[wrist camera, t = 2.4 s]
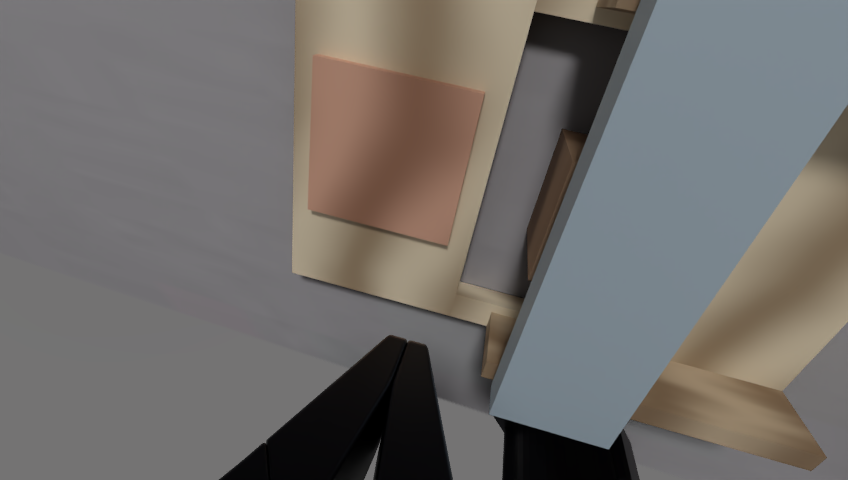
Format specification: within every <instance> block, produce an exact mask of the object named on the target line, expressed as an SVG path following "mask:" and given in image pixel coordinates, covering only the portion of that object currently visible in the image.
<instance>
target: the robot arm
mask: <svg viewBox="0 0 848 480" xmlns="http://www.w3.org/2000/svg"><path fill="white" fill-rule="evenodd" d="M494 418H495V419H496V421H497V422H498V424H499V425H500V427H501V428H502V430H503V432H504V454H503V478H502V480H640V479H639V476H638V472H637V468H636V463H635V459H634V455H633V451H632V447H631V443H630V441H629V439H628V437H627V435H626V433H625V431H624V429H623V430H622V431H621V433H620V434H619V435H618V437H617V438H616V440H615V441H614V443H613V444H612V445H611V447H610V448H609V450H608V449H605V448H602V447H598V446H595V445H591V444H588V443H585V442H581V441H578V440H574V439H571V438H568V437H564V436H561V435H557V434H554V433H551V432H547V431H544V430H540V429H537V428H534V427H530V426H527V425H523V424H520V423H517V422H513V421H510V420H506V419H503V418H499V417H496V416H494ZM380 440H381V441H380ZM379 443H380V447H379V451H378V456H377V462H376V467H375V473H374V479H373V480H453V478H452V473H451V468H450V462H449V457H448V452H447V446H446V441H445V436H444V431H443V426H442V420H441V415H440V410H439V405H438V399H437V394H436V389H435V383H434V378H433V373H432V368H431V362H430V357H429V352H428V348H427V346H426V345H425V344H421V343H418V342H414V341H409V342H408V343H407V340H406V339H404V338H400V337H397V336H393V335H389V336H387V337H386V338H385V339H384V340H382V341H381V342H380V343H379V344H378V345H377V346H375V347H374V348H373V349H372V350H371V351H370V352H368V353H367V354H366V355H365V356H364V357H363V358H361V359H360V360H359V361H358V362H357V363H356V364H354V365H353V366H352V367H351V368H350V369H349V370H348V371H346V372H345V373H344V374H343V375H342V376H341V377H340V378H338V379H337V380H336V381H335V382H334V383H333V384H331V385H330V386H329V387H328V388H327V389H325V390H324V391H323V392H322V393H321V394H320V395H318V396H317V397H316V398H315V399H314V400H313V401H312V402H310V403H309V404H308V405H307V406H306V407H305V408H303V409H302V410H301V411H300V412H299V413H298V414H296V415H295V416H294V417H293V418H292V419H291V420H289V421H288V422H287V423H286V424H285V425H284V426H283V427H281V428H280V429H279V430H278V431H277V432H275V433H274V434H273V435H272V436H271V437H270V438H268V439H267V441H266V443H263V444H261V445H260V446H259V447H258V448H257V449H255V450H254V451H253V452H252V453H251V454H250V455H248V456H247V457H246V458H245V459H244V460H242V461H241V462H240V463H239V464H238V465H236V466H235V467H234V468H233V469H232V470H230V471H229V472H228V473H227V474H225V475H224V476H223V477H222V478H221V479H219V480H364V478H365V476H366V474H367V471H368V469H369V466H370V464H371V462H372V460H373V458H374V455H375V453H376V450H377V448H378V445H379Z"/></svg>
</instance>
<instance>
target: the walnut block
mask: <svg viewBox="0 0 848 480" xmlns="http://www.w3.org/2000/svg"><path fill="white" fill-rule="evenodd" d="M587 137H588V135H587V134H583V133H578V132H574V131H569V130H565V129H562V131H561V134H560V136H559V139H558V142H557V145H556V148H555V151H554V154H553V156H552V159H551V162H550V165H549V168H548V171H547V174H546V176H545V179H544V182H543V185H542V188H541V191H540V194H539V196H538V199H537V202H536V205H535V208H534V211H533V214H532V216H531V219H530V222H529V225H528V228H527V254H528V280H529V281H532V279H533V276H534V273H535V271H536V268H537V266H538V263H539V261H540V258H541V255H542V253H543V250H544V248H545V245H546V243H547V240H548V237H549V235H550V232H551V230H552V227H553V225H554V222H555V219H556V217H557V214H558V212H559V209H560V207H561V204H562V201H563V199H564V196H565V194H566V191H567V189H568V186H569V183H570V181H571V178H572V176H573V173H574V171H575V168H576V165H577V163H578V160H579V158H580V155H581V153H582V150H583V147H584V145H585V142H586V140H587Z"/></svg>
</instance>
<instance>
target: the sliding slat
mask: <svg viewBox="0 0 848 480" xmlns="http://www.w3.org/2000/svg"><path fill="white" fill-rule="evenodd" d="M847 105H848V0H641V1H640V3H639V6H638V8H637V11H636V14H635V16H634V19H633V21H632V24H631V26H630V29H629V32H628V34H627V37H626V39H625V42H624V44H623V47H622V50H621V52H620V55H619V57H618V60H617V62H616V65H615V68H614V70H613V73H612V75H611V78H610V80H609V83H608V86H607V88H606V91H605V93H604V96H603V98H602V101H601V104H600V106H599V109H598V111H597V114H596V116H595V119H594V122H593V124H592V127H591V129H590V132H589V135H588V137H587V140H586V142H585V145H584V147H583V150H582V153H581V155H580V158H579V160H578V163H577V165H576V168H575V171H574V173H573V176H572V178H571V181H570V183H569V186H568V189H567V191H566V194H565V196H564V199H563V201H562V204H561V207H560V209H559V212H558V214H557V217H556V219H555V222H554V225H553V227H552V230H551V232H550V235H549V237H548V240H547V243H546V245H545V248H544V250H543V253H542V255H541V258H540V261H539V263H538V266H537V268H536V271H535V273H534V276H533V279H532V281H531V284H530V286H529V289H528V292H527V294H526V297H525V299H524V302H523V304H522V307H521V310H520V312H519V315H518V317H517V320H516V322H515V325H514V328H513V330H512V333H511V335H510V338H509V340H508V343H507V346H506V348H505V351H504V353H503V356H502V358H501V361H500V364H499V366H498V369H497V371H496V374H495V376H494V379H493V382H492V384H491V395H490V407H489V415H493V416H496V417H499V418H503V419H506V420H510V421H513V422H517V423H520V424H523V425H527V426H530V427H534V428H537V429H540V430H544V431H547V432H551V433H554V434H557V435H561V436H564V437H568V438H571V439H574V440H578V441H581V442H585V443H588V444H591V445H595V446H598V447H602V448H605V449H608V450H609V448H610V447H611V445H612V444H613V443H614V441H615V440H616V438H617V437H618V435H619V434H620V433H621V431H622V430H623V428H624V427H625V425H626V424H627V422H628V421H629V420H630V418H631V417H632V415H633V414H634V412H635V411H636V409H637V408H638V407H639V405H640V404H641V402H642V401H643V399H644V398H645V396H646V395H647V394H648V392H649V391H650V389H651V388H652V386H653V385H654V383H655V382H656V381H657V379H658V378H659V376H660V375H661V373H662V372H663V370H664V369H665V368H666V366H667V365H668V363H669V362H670V360H671V359H672V357H673V356H674V355H675V353H676V352H677V350H678V349H679V347H680V346H681V344H682V343H683V342H684V340H685V339H686V337H687V336H688V334H689V333H690V331H691V330H692V329H693V327H694V326H695V324H696V323H697V321H698V320H699V319H700V317H701V316H702V314H703V313H704V311H705V310H706V308H707V307H708V306H709V304H710V303H711V301H712V300H713V298H714V297H715V295H716V294H717V293H718V291H719V290H720V288H721V287H722V285H723V284H724V282H725V281H726V280H727V278H728V277H729V275H730V274H731V272H732V271H733V269H734V268H735V267H736V265H737V264H738V262H739V261H740V259H741V258H742V256H743V255H744V254H745V252H746V251H747V249H748V248H749V246H750V245H751V243H752V242H753V241H754V239H755V238H756V236H757V235H758V233H759V232H760V230H761V229H762V228H763V226H764V225H765V223H766V222H767V220H768V219H769V217H770V216H771V215H772V213H773V212H774V210H775V209H776V207H777V206H778V205H779V203H780V202H781V200H782V199H783V197H784V196H785V194H786V193H787V192H788V190H789V189H790V187H791V186H792V184H793V183H794V181H795V180H796V179H797V177H798V176H799V174H800V173H801V171H802V170H803V168H804V167H805V166H806V164H807V163H808V161H809V160H810V158H811V157H812V155H813V154H814V153H815V151H816V150H817V148H818V147H819V145H820V144H821V142H822V141H823V140H824V138H825V137H826V135H827V134H828V132H829V131H830V129H831V128H832V127H833V125H834V124H835V122H836V121H837V119H838V118H839V116H840V115H841V114H842V112H843V111H844V109H845V108H846V106H847Z"/></svg>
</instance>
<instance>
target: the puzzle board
mask: <svg viewBox="0 0 848 480" xmlns="http://www.w3.org/2000/svg"><path fill="white" fill-rule="evenodd" d="M640 1H641V0H296V8H295V88H294V168H293V248H292V273H295V274H299V275H303V276H306V277H310V278H314V279H317V280H321V281H324V282H328V283H332V284H335V285H339V286H343V287H346V288H350V289H354V290H357V291H361V292H364V293H368V294H372V295H375V296H379V297H383V298H386V299H390V300H393V301H397V302H401V303H404V304H408V305H412V306H415V307H419V308H422V309H426V310H430V311H433V312H437V313H441V314H444V315H448V316H452V317H455V318H459V319H462V320H466V321H470V322H473V323H477V324H481V325H484V326H487V327H486V336H485V345H484V355H483V364H482V373H481V377H485V378H488V379H492V380H493V379H494V376H495V374H496V371H497V369H498V366H499V364H500V361H501V358H502V356H503V353H504V351H505V348H506V346H507V343H508V340H509V338H510V335H511V333H512V330H513V328H514V325H515V322H516V320H517V317H518V315H519V312H520V310H521V307H522V304H523V302H524V298H520V297H516V296H512V295H509V294H505V293H501V292H497V291H494V290H490V289H486V288H482V287H479V286H475V285H471V284H468V283H464V282H460V278H461V275H462V271H463V267H464V264H465V260H466V256H467V253H468V249H469V246H470V242H471V238H472V235H473V231H474V227H475V224H476V220H477V217H478V213H479V209H480V206H481V202H482V198H483V195H484V191H485V188H486V184H487V180H488V177H489V173H490V169H491V166H492V162H493V159H494V155H495V151H496V148H497V144H498V140H499V137H500V133H501V130H502V126H503V122H504V119H505V115H506V111H507V108H508V104H509V101H510V97H511V93H512V90H513V86H514V82H515V79H516V75H517V72H518V68H519V64H520V61H521V57H522V53H523V50H524V46H525V43H526V39H527V35H528V32H529V28H530V24H531V21H532V17H533V13H534V11H535V12H539V13H544V14H549V15H554V16H559V17H563V18H568V19H573V20H578V21H583V22H588V23H592V24H597V25H602V26H607V27H612V28H617V29H621V30H626V31H629V29H630V26H631V24H632V21H633V19H634V16H635V14H636V11H637V8H638V6H639V3H640ZM847 322H848V105H847V106H846V108H845V109H844V111H843V112H842V114H841V115H840V116H839V118H838V119H837V121H836V122H835V124H834V125H833V127H832V128H831V129H830V131H829V132H828V134H827V135H826V137H825V138H824V140H823V141H822V142H821V144H820V145H819V147H818V148H817V150H816V151H815V153H814V154H813V155H812V157H811V158H810V160H809V161H808V163H807V164H806V166H805V167H804V168H803V170H802V171H801V173H800V174H799V176H798V177H797V179H796V180H795V181H794V183H793V184H792V186H791V187H790V189H789V190H788V192H787V193H786V194H785V196H784V197H783V199H782V200H781V202H780V203H779V205H778V206H777V207H776V209H775V210H774V212H773V213H772V215H771V216H770V217H769V219H768V220H767V222H766V223H765V225H764V226H763V228H762V229H761V230H760V232H759V233H758V235H757V236H756V238H755V239H754V241H753V242H752V243H751V245H750V246H749V248H748V249H747V251H746V252H745V254H744V255H743V256H742V258H741V259H740V261H739V262H738V264H737V265H736V267H735V268H734V269H733V271H732V272H731V274H730V275H729V277H728V278H727V280H726V281H725V282H724V284H723V285H722V287H721V288H720V290H719V291H718V293H717V294H716V295H715V297H714V298H713V300H712V301H711V303H710V304H709V306H708V307H707V308H706V310H705V311H704V313H703V314H702V316H701V317H700V319H699V320H698V321H697V323H696V324H695V326H694V327H693V329H692V330H691V331H690V333H689V334H688V336H687V337H686V339H685V340H684V342H683V343H682V344H681V346H680V347H679V349H678V350H677V352H676V353H675V355H674V356H673V357H672V359H671V360H670V362H669V363H668V365H667V366H666V368H665V369H664V370H663V372H662V373H661V375H660V376H659V378H658V379H657V381H656V382H655V383H654V385H653V386H652V388H651V389H650V391H649V392H648V394H647V395H646V396H645V398H644V399H643V401H642V402H641V404H640V405H639V407H638V408H637V409H636V411H635V412H634V414H633V415H632V417H631V418H630V419H631V420H635V421H638V422H642V423H645V424H649V425H652V426H656V427H659V428H663V429H666V430H670V431H673V432H677V433H680V434H684V435H687V436H691V437H694V438H698V439H701V440H705V441H708V442H712V443H715V444H719V445H722V446H726V447H729V448H733V449H736V450H740V451H743V452H747V453H750V454H754V455H757V456H761V457H764V458H768V459H771V460H774V461H778V462H781V463H785V464H788V465H792V466H795V467H799V468H802V469H806V470H809V471H812V470H813V469H814V468H815V467H817V466H818V465H819V464H820V463H821V462H823V461H824V460H825V459H826V458H827V457H826V456H825V454H824V453H823V451H822V450H821V448H820V447H819V445H818V444H817V442H816V441H815V439H814V438H813V436H812V435H811V433H810V432H809V430H808V429H807V427H806V426H805V424H804V423H803V421H802V420H801V418H800V417H799V415H798V414H797V412H796V411H795V409H794V408H793V407H792V405H791V404H790V402H789V401H788V399H787V398H786V396H785V395H784V393H783V392H782V391H783V390H784V389H785V388H786V387H787V385H788V384H789V383H790V382H791V381H792V380H793V379H794V378H795V377H796V376H797V375H798V374H799V373H800V372H801V371H802V370H803V369H804V368H805V366H806V365H807V364H808V363H809V362H810V361H811V360H812V359H813V358H814V357H815V356H816V355H817V354H818V353H819V352H820V351H821V350H822V348H823V347H824V346H825V345H826V344H827V343H828V342H829V341H830V340H831V339H832V338H833V337H834V336H835V335H836V334H837V333H838V332H839V330H840V329H841V328H842V327H843V326H844V325H845V324H846V323H847Z"/></svg>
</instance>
